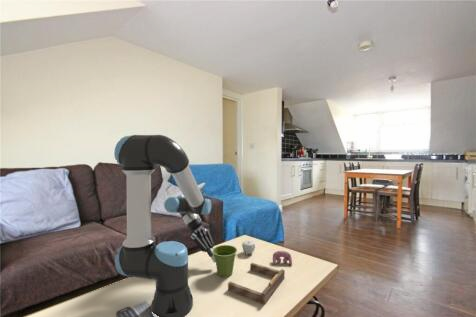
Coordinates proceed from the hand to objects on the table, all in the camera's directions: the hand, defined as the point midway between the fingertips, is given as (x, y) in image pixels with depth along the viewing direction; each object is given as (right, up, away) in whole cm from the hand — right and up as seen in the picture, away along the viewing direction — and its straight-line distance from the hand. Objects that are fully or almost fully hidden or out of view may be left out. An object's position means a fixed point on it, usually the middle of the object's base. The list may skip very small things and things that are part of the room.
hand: (216, 261), depth 115 cm
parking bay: (+19, -4, -13) cm, 23 cm away
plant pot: (+4, -4, -4) cm, 7 cm away
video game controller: (+34, -4, +5) cm, 34 cm away
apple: (+17, -3, +17) cm, 24 cm away
